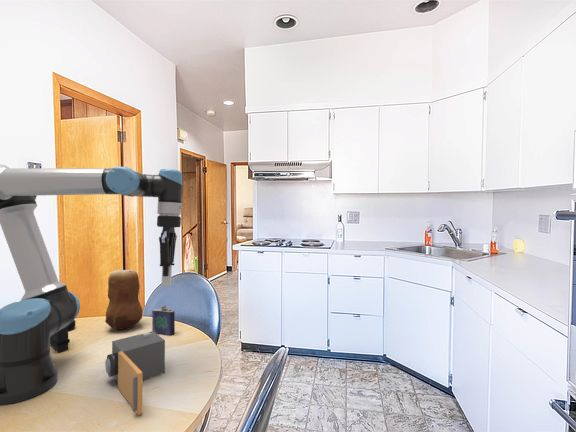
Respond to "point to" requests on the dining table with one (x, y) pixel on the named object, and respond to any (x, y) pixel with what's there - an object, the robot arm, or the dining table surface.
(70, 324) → the tape measure
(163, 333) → the flask
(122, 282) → the butternut squash
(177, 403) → the dining table surface
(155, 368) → the block
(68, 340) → the black upright slab
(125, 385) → the side door
